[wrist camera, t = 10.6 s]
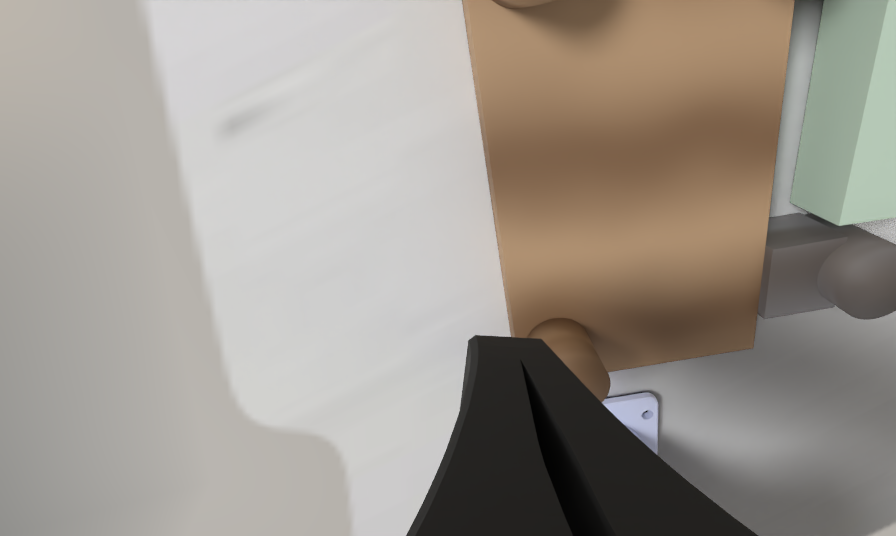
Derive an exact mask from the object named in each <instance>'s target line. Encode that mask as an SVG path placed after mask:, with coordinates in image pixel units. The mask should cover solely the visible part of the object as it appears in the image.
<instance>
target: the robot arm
mask: <svg viewBox="0 0 896 536" xmlns="http://www.w3.org/2000/svg"><path fill="white" fill-rule="evenodd" d="M647 410H649V411H648V412H646V413H643V412H645V411H647ZM406 536H758V535H756V534H755V533H754V532H752V531H751V530H750V529H748V528H747V527H746V526H744V525H743V524H742V523H740V522H739V521H738V520H736V519H735V518H734V517H732V516H731V515H730V514H728V513H727V512H726V511H724V510H723V509H722V508H721V507H719V506H718V505H717V504H716V503H714V502H713V501H712V500H711V499H709V498H708V497H707V496H706V495H704V494H703V493H702V492H701V491H699V490H698V489H697V488H695V487H694V486H693V485H692V484H690V483H689V482H688V481H687V480H685V479H684V478H683V477H682V476H681V475H679V474H678V473H677V472H676V471H675V470H674V469H672V468H671V467H670V466H669V465H668V464H667V463H665V462H664V461H663V460H662V459H661V458H660V457H659V456H658V401H657V399H656V398H655V396H654V395H653V394H651V393H639V394H633V395H627V396H621V397H614V398H608V399H605V400H604V401H603V402H601V401H600V400H599V399H598V398H597V397H596V396H595V395H594V394H593V393H592V392H591V391H590V390H589V389H588V388H587V387H586V386H585V385H584V384H583V383H582V382H581V381H580V380H579V379H578V378H577V376H576V375H575V374H574V373H573V372H572V371H571V370H570V369H569V368H568V367H567V366H566V365H565V364H564V362H563V361H562V360H561V359H560V358H559V357H558V356H557V355H556V354H555V353H554V352H553V351H552V349H551V348H550V347H549V346H548V345H547V344H546V343H545V342H544V341H543V340H542V339H537V338H518V337H498V336H478V335H475V336H474V337H473V338H471V339H470V340H469V341H468V349H467V357H466V366H465V374H464V382H463V390H462V398H461V406H460V412H459V415H458V418H457V421H456V424H455V427H454V430H453V432H452V435H451V438H450V441H449V444H448V446H447V449H446V452H445V454H444V457H443V459H442V462H441V464H440V466H439V469H438V471H437V473H436V476H435V478H434V480H433V482H432V485H431V487H430V489H429V491H428V493H427V495H426V498H425V500H424V502H423V504H422V506H421V508H420V510H419V512H418V514H417V516H416V518H415V520H414V522H413V524H412V525H411V527H410V529H409V531H408V533H407V535H406Z"/></svg>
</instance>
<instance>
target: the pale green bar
mask: <svg viewBox="0 0 896 536" xmlns="http://www.w3.org/2000/svg"><path fill="white" fill-rule="evenodd" d="M790 203H792V204H794V205H796V206H798V207H800V208H802V209H804V210H807V211H809V212H811V213H813V214H815V215H817V216H819V217H821V218H823V219H825V220H827V221H829V222H832V223H834V224H836V225H838V226H842V225H849V224H855V223H862V222H869V221H876V220H882V219H889V218H896V0H824V3H823V9H822V15H821V21H820V27H819V33H818V39H817V45H816V51H815V57H814V63H813V69H812V75H811V81H810V87H809V92H808V98H807V104H806V110H805V116H804V122H803V128H802V134H801V140H800V146H799V152H798V158H797V164H796V170H795V175H794V181H793V187H792V193H791V199H790Z"/></svg>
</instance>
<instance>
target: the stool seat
mask: <svg viewBox="0 0 896 536" xmlns="http://www.w3.org/2000/svg"><path fill="white" fill-rule="evenodd" d="M794 1H795V0H462V3H463V10H464V17H465V24H466V31H467V37H468V44H469V51H470V58H471V65H472V72H473V78H474V85H475V92H476V99H477V106H478V113H479V120H480V126H481V133H482V140H483V147H484V154H485V161H486V167H487V174H488V181H489V188H490V195H491V202H492V209H493V215H494V222H495V229H496V236H497V243H498V250H499V256H500V263H501V270H502V277H503V284H504V291H505V298H506V304H507V311H508V318H509V325H510V332H511V337H518V338H537V339H542V340H543V341H544V342H545V343H546V344H547V345H548V346H549V347H550V348H551V349H552V351H553V352H554V353H555V354H556V355H557V356H558V357H559V358H560V359H561V360H562V361H563V362H564V364H565V365H566V366H567V367H568V368H569V369H570V370H571V371H572V372H573V373H574V374H575V375H576V376H577V378H578V379H579V380H580V381H581V382H582V383H583V384H584V385H585V386H586V387H587V388H588V389H589V390H590V391H591V392H592V393H593V394H594V395H595V396H596V397H597V398H598V399H599V400H600V401H601V402H603V401H604V400H605V398H606V397H607V395H608V393H609V390H610V378H609V375H608V373H607V372H612V371H618V370H624V369H630V368H636V367H642V366H648V365H654V364H660V363H666V362H672V361H678V360H684V359H690V358H697V357H703V356H709V355H715V354H721V353H727V352H733V351H739V350H745V349H751V348H753V347H754V338H755V330H756V321H757V313H758V314H759V315H760V316H761V317H762V318H764V319H767V318H773V317H779V316H785V315H791V314H797V313H802V312H808V311H814V310H820V309H826V308H832V307H834V306H835V305H836V306H837V307H839V308H840V309H842V310H843V311H845V312H846V313H848V314H849V315H851V316H853V317H855V318H858V319H875V318H879V317H882V316H885V315H888V314H890V313H892V312H894V311H895V310H896V245H895V244H893V243H891V242H889V241H887V240H885V239H882V238H880V237H878V236H876V235H874V234H872V233H869V232H867V231H865V230H863V229H861V228H859V227H856V226H854V225H852V224H849V225H842V226H838V225H836V224H834V223H832V222H829V221H827V220H825V219H823V218H821V217H819V216H817V215H815V214H813V213H810V214H806V215H803V214H801V213H795V214H789V215H784V216H778V217H772V218H769V212H770V204H771V195H772V187H773V178H774V170H775V161H776V153H777V145H778V136H779V128H780V119H781V111H782V103H783V94H784V86H785V77H786V69H787V60H788V52H789V44H790V35H791V27H792V18H793V10H794Z"/></svg>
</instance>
